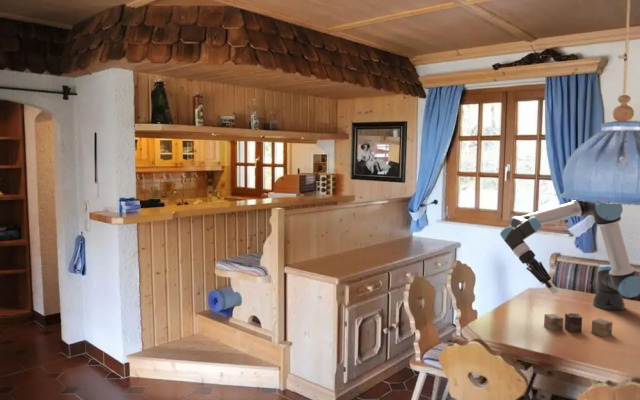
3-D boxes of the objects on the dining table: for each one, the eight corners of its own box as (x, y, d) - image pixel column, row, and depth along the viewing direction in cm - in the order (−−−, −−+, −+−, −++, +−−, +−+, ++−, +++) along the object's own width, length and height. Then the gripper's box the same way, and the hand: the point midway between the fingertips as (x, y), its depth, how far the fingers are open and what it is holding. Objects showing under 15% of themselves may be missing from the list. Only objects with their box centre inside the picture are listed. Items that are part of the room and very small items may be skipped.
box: (581, 332, 232) (582, 317, 231) (567, 331, 233) (568, 316, 233) (577, 328, 238) (578, 313, 237) (564, 327, 239) (565, 312, 239)
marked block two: (555, 325, 241) (556, 313, 241) (562, 330, 235) (563, 317, 235) (543, 326, 241) (544, 313, 240) (550, 330, 235) (551, 318, 234)
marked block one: (599, 330, 235) (599, 318, 235) (611, 334, 230) (612, 321, 229) (591, 332, 232) (592, 320, 232) (603, 337, 227) (604, 324, 226)
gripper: (524, 255, 257) (555, 294, 246) (512, 259, 248) (544, 299, 237) (535, 247, 252) (567, 286, 242) (523, 251, 243) (556, 291, 233)
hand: (556, 292), depth 240 cm, fingers closed
